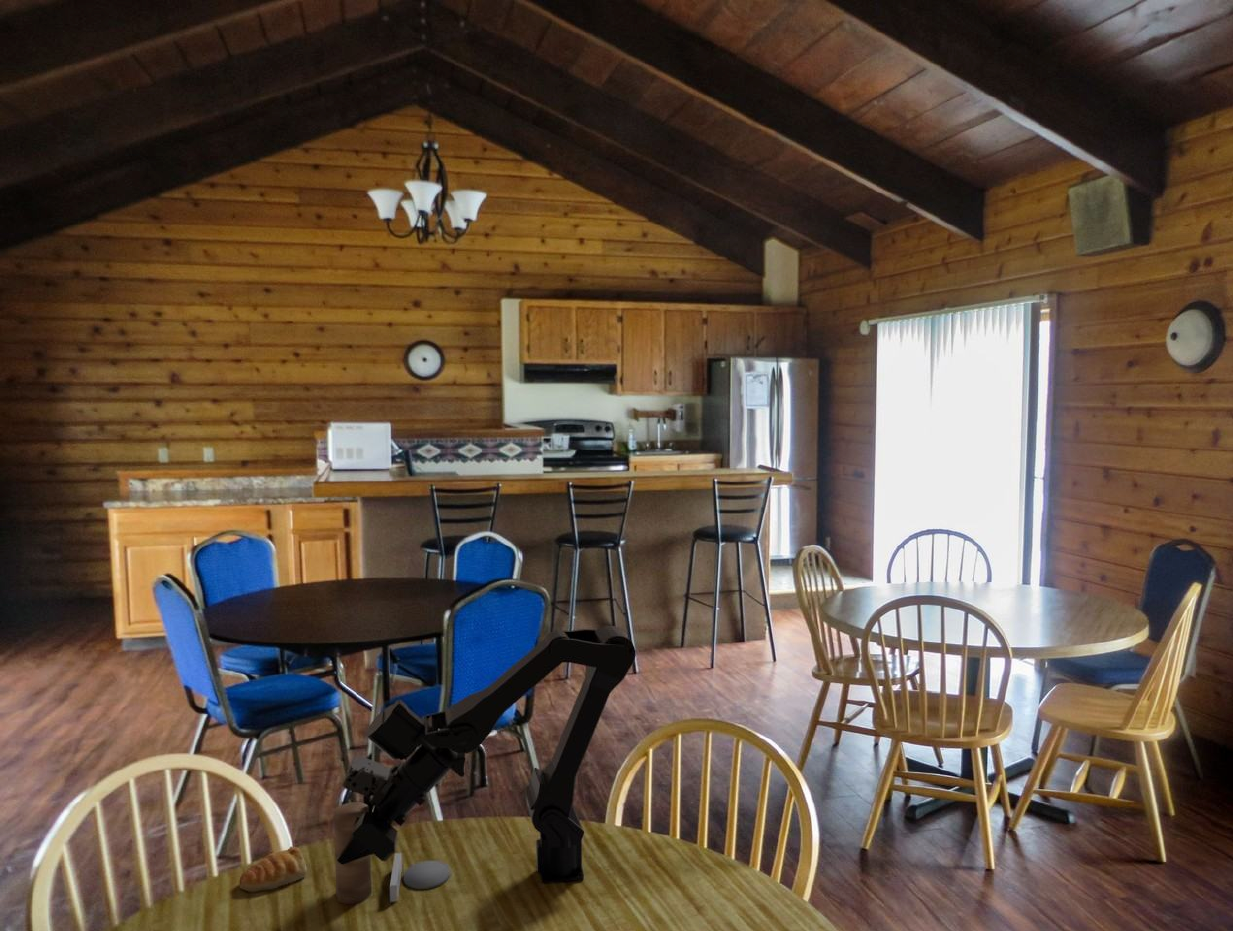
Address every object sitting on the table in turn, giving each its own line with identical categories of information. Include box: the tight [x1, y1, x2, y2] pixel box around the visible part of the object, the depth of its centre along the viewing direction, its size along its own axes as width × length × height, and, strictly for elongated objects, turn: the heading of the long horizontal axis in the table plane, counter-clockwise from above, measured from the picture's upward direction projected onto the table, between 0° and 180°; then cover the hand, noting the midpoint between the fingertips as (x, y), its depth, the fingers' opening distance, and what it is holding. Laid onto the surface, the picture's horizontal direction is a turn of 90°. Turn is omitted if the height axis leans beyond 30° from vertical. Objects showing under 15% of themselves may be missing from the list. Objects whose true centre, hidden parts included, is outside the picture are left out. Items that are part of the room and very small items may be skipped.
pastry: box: [238, 846, 308, 893], centre depth 135 cm, size 9×7×4 cm
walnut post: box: [333, 801, 372, 905], centre depth 130 cm, size 5×5×13 cm
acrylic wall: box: [389, 852, 403, 903], centre depth 133 cm, size 1×9×2 cm, turn 9°
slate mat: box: [403, 860, 451, 890], centre depth 136 cm, size 7×7×1 cm
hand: (342, 852), depth 130 cm, fingers closed on walnut post, 5 cm apart
